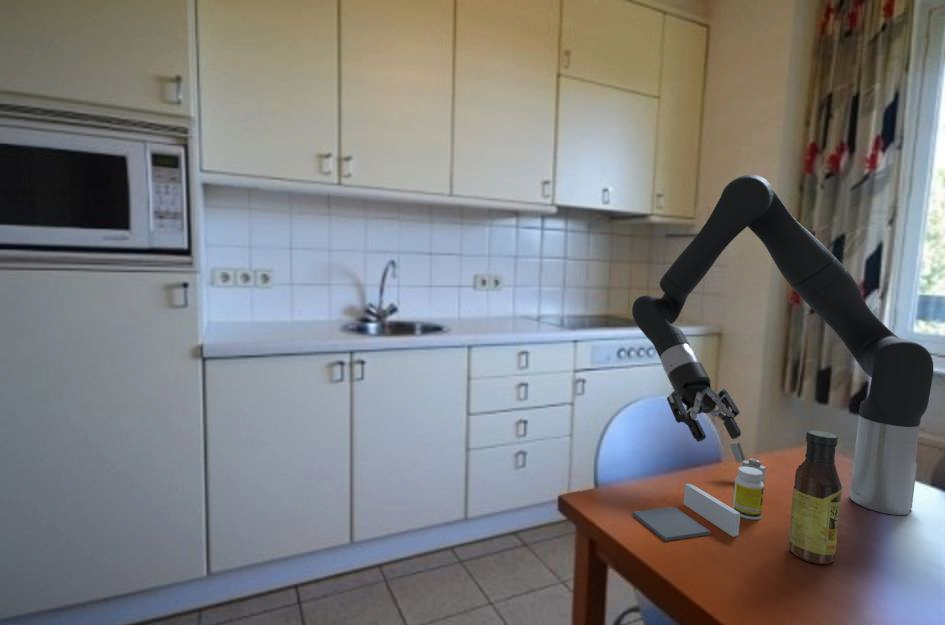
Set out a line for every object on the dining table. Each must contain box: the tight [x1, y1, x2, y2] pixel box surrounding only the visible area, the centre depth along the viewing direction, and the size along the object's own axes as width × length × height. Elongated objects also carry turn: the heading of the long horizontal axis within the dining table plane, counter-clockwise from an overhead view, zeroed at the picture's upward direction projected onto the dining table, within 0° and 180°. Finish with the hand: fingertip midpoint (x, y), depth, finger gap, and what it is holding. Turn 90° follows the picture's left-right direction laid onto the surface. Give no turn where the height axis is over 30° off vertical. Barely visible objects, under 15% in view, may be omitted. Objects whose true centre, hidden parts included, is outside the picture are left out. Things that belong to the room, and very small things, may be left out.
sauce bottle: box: [788, 429, 843, 565], centre depth 79 cm, size 7×6×20 cm
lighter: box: [729, 441, 767, 485], centre depth 108 cm, size 7×2×8 cm, turn 36°
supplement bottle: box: [732, 466, 765, 520], centre depth 93 cm, size 5×5×8 cm
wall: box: [683, 483, 741, 538], centre depth 91 cm, size 1×12×4 cm, turn 17°
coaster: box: [632, 506, 711, 542], centre depth 88 cm, size 9×9×1 cm
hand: (719, 438), depth 100 cm, fingers open, 8 cm apart
